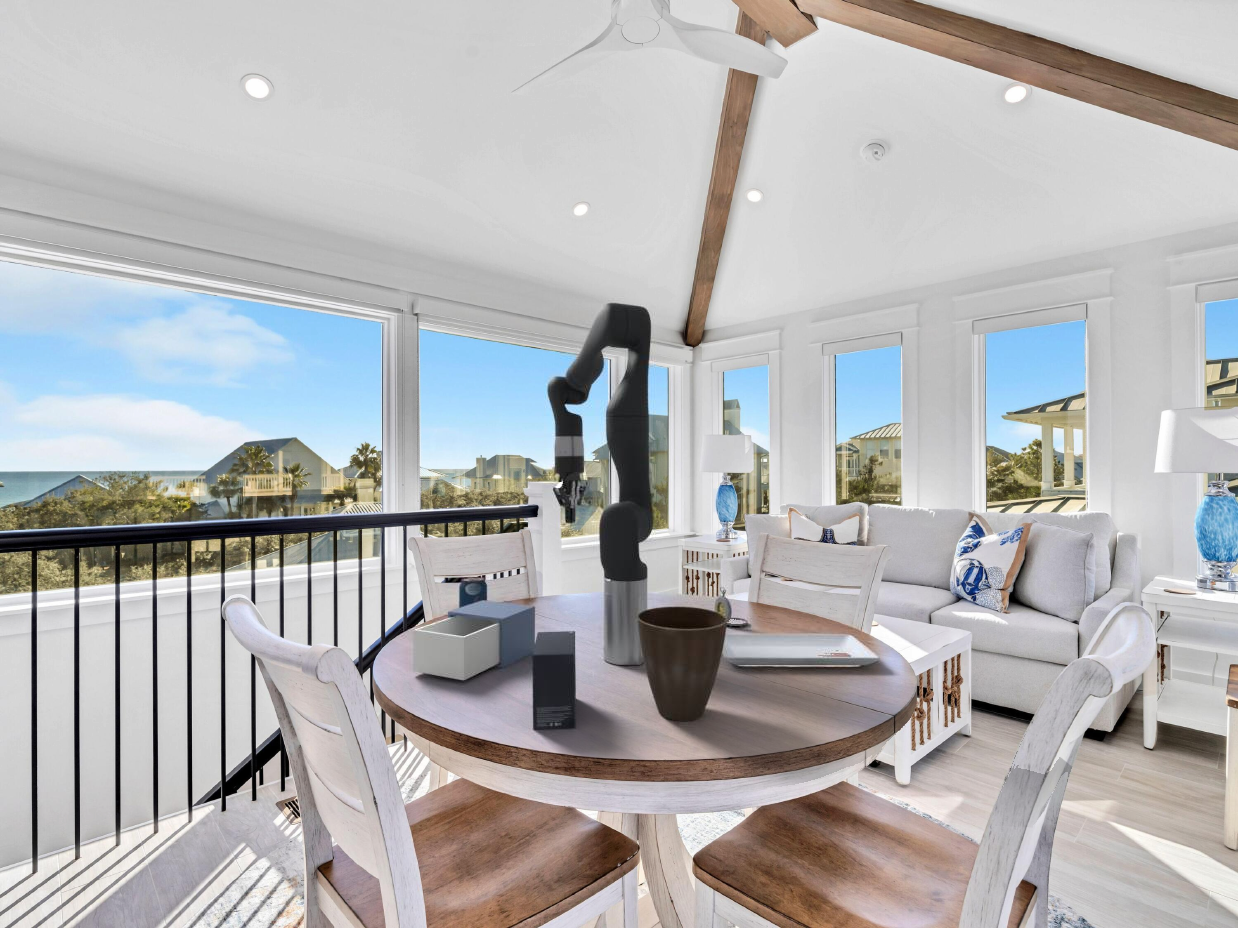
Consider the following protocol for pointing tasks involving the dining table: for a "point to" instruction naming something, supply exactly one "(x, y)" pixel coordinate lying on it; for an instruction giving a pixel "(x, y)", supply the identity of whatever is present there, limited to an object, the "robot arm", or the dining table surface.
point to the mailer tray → (456, 647)
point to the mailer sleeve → (506, 627)
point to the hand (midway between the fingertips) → (570, 522)
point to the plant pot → (681, 657)
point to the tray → (795, 649)
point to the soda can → (472, 591)
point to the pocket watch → (726, 609)
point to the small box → (554, 681)
